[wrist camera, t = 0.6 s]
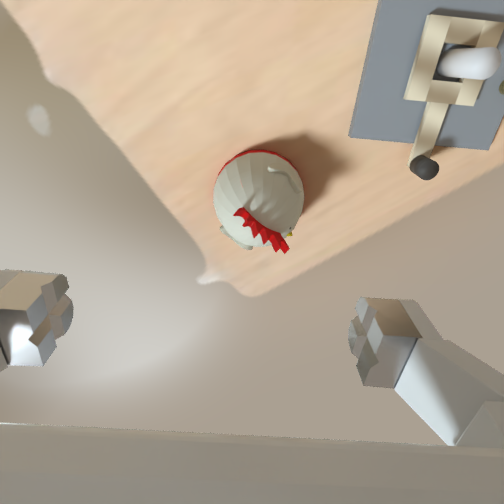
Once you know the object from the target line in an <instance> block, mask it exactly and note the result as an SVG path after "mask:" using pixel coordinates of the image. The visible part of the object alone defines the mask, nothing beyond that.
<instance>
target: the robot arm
mask: <svg viewBox="0 0 504 504" xmlns="http://www.w3.org/2000/svg"><path fill="white" fill-rule="evenodd" d="M68 288H69V285H68V281H67V277H65V276H64V275H62V274H54V273H43V272H33V271H22V270H9V269H5V270H0V372H1V371H2V370H4V369H5V368H7V367H8V365H21V366H23V365H24V366H44V364H45V363H46V361H47V360H48V358H49V357H50V356H51V354H52V353H53V351H54V350H55V348H56V347H57V346H56V342H55V340H56V339H57V338H59V337H61V336H63V335H64V334H65V333H66V332H67V330H68V329H69V327H70V325H71V322H72V318H73V303H72V301H71V299H70V298H69V297H68V296H67V295H66V294H65V292H66V291H67V290H68ZM355 309H356V311H357V314H358V316H356V317H355V318H354V319H353V320H351V324H350V327H349V338H348V340H349V346H350V349H351V352H352V354H354V355H355V356H356V357H357V358H358V363H357V365H356V366H357V369H358V372H359V375H360V377H361V380H362V383H363V385H364V386H373V387H384V388H395V391H396V392H397V393H398V394H399V395H400V396H401V397H402V398H403V399H404V400H405V402H407V404H408V405H409V406H410V407H411V408H412V409H413V410H414V411H415V412H416V413H417V414H418V415H419V416H420V417H421V418H422V419H423V420H424V421H425V422H426V423H427V424H428V425H429V426H430V427H431V428H432V429H433V430H434V431H435V433H437V434H438V436H440V438H441V439H442V440H443V441H444V442H445V443H446V444H447V445H448V446H446V445H427V444H408V443H388V442H368V441H349V440H330V439H311V438H290V437H270V436H252V435H233V434H214V433H213V434H212V433H194V432H175V431H155V430H136V429H116V428H97V427H76V426H58V425H39V424H19V423H0V504H504V375H503V374H502V373H500V372H498V371H497V370H495V369H494V368H492V367H490V366H489V365H487V364H486V363H484V362H483V361H481V360H480V359H478V358H476V357H475V356H473V355H472V354H470V353H468V352H467V351H465V350H464V349H462V348H460V347H459V346H457V345H456V344H454V343H453V342H451V341H449V340H443V338H442V337H441V335H440V334H439V333H438V331H437V330H436V328H435V327H434V325H433V324H432V323H431V321H430V320H429V318H428V317H427V316H426V314H425V313H424V311H423V310H422V308H421V307H420V306H419V304H418V303H417V302H416V301H414V300H408V299H381V298H365V297H360V299H359V300H358V302H357V305H356V308H355Z"/></svg>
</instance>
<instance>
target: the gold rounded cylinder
mask: <svg viewBox="0 0 504 504" xmlns="http://www.w3.org/2000/svg"><path fill="white" fill-rule="evenodd" d="M499 92H500V93H501V94H503V95H504V80H503V81H502V82H501V84H500V86H499Z"/></svg>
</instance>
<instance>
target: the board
mask: <svg viewBox="0 0 504 504" xmlns="http://www.w3.org/2000/svg"><path fill="white" fill-rule="evenodd" d="M431 14H432V15H441V16H450V17H459V18H468V19H477V20H486V21H495V22H504V0H379V1H378V5H377V10H376V14H375V18H374V23H373V27H372V32H371V36H370V41H369V45H368V50H367V54H366V59H365V63H364V67H363V72H362V76H361V81H360V85H359V90H358V94H357V99H356V103H355V108H354V112H353V116H352V121H351V125H350V130H349V134H348V136H349V137H351V138H360V139H371V140H382V141H393V142H404V143H414V141H415V138H416V135H417V132H418V129H419V126H420V123H421V120H422V117H423V114H424V110H425V107H426V104H427V102H425V101H414V100H405V99H403V97H404V94H405V90H406V87H407V83H408V80H409V77H410V73H411V70H412V66H413V63H414V59H415V56H416V52H417V49H418V45H419V42H420V38H421V35H422V32H423V28H424V25H425V21H426V18H427V15H431ZM460 78H467V79H478V80H484V81H483V83H482V86H481V88H480V91H479V94H478V96H477V99H476V101H475V104H474V106H465V105H455V104H449V105H448V108H447V111H446V114H445V117H444V119H443V122H442V125H441V128H440V131H439V134H438V136H437V139H436V142H435V145H436V146H447V147H458V148H469V149H480V150H489V147H490V145H491V143H492V141H493V138H494V136H495V134H496V131H497V129H498V127H499V125H500V122H501V120H502V118H503V115H504V95H503V94H501V93H500V92H499V86H500V84H501V82H502V81H503V80H504V29H503V32H502V35H501V37H500V40H499V42H498V45H497V47H496V48H495V47H483V48H471V46H467V45H458V44H449V43H444V44H443V47H442V50H441V53H440V56H439V59H438V63H437V66H436V69H435V72H434V75H433V78H432V80H439V81H449V82H459V80H460Z"/></svg>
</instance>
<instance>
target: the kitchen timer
mask: <svg viewBox="0 0 504 504" xmlns="http://www.w3.org/2000/svg"><path fill="white" fill-rule="evenodd" d="M213 203H214V207H215V210H216V214H217V217H218V219H219V220H220V222H221V223H222V226H221V227H220V230H221V232H222V233H223V234H225V235H226V236H228V237H229V238H231V239H232V240H233V241H235V242H236V243H237V244H238V245H239V246H240V247H242V248H244V249H246V250H252V248H253V246H254V247H264V246H269V245H272V246H273V248H274V250H275V252H277V251H278V250H279V249H281V250H282V251H283V253H284V254H285V253H286V252H287V251H288V250H289V247H288V245H287V243H286V241H285V240H284V238H286V237H287V236H292V232H291V231H292V230H293V229H294V228H295V226H296V224H297V221H298V219H299V217H300V215H301V213H302V209H303V203H304V190H303V183H302V181H301V179H300V176H299V174H298V172H297V170H296V168H295V167H294V166H293V165H292V164H291V163H290V162H289V161H288V160H287V159H286V158H284V157H283V156H281V155H279V154H277V153H275V152H271V151H267V150H249V151H246V152H244V153H241V154H238V155H236V156H235V157H233V158H232V159H231V160H229V161H228V162H227V163H226V164H225V165H224V167H223V168H222V169H221V171H220V172H219V174H218V177H217V180H216V183H215V186H214V196H213Z"/></svg>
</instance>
